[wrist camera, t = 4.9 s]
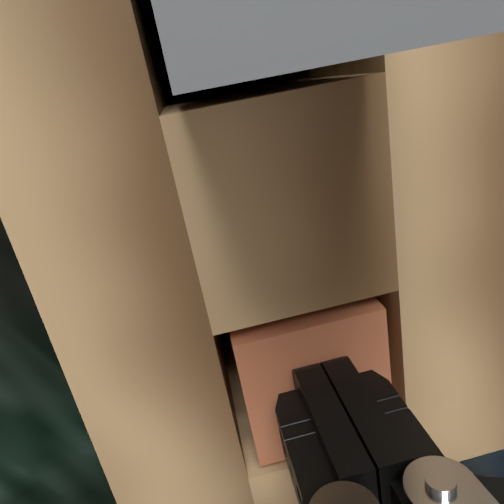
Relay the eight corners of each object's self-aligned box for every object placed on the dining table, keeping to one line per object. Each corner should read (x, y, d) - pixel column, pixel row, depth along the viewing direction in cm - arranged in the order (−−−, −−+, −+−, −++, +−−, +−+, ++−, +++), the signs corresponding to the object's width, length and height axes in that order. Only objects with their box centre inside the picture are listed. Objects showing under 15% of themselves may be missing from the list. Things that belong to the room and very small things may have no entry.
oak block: (152, 358, 22) (137, 552, 13) (20, -68, 15) (-211, -302, 6) (380, 302, 23) (518, 444, 14) (346, -119, 17) (567, -384, 7)
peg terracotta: (228, 325, 20) (259, 466, 12) (209, 242, 18) (232, 346, 11) (313, 304, 20) (395, 429, 13) (302, 221, 19) (386, 309, 11)
